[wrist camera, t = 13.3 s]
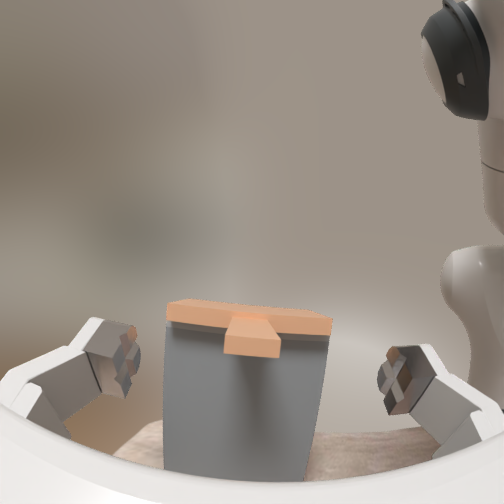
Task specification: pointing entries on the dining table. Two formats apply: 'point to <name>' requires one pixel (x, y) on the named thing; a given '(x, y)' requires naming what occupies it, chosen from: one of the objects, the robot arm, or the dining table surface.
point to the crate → (240, 405)
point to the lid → (249, 324)
